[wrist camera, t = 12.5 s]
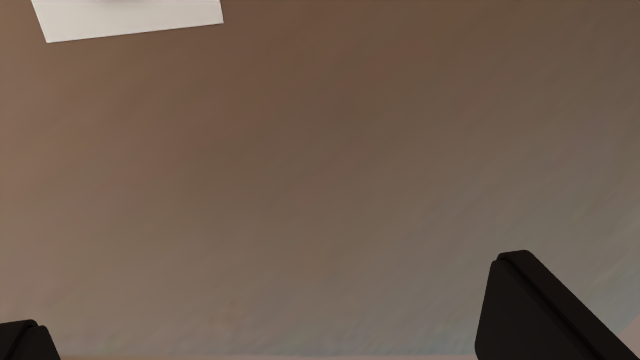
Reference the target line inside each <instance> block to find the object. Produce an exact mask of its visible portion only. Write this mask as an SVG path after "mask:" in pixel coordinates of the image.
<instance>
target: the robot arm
mask: <svg viewBox="0 0 640 360" xmlns="http://www.w3.org/2000/svg"><path fill="white" fill-rule="evenodd" d="M475 352H476V355H477V358H478V360H640V359H639V358H638V357H637V356H636V355H635V354H634V353H633V352H632V351H631V350H630V349H629V348H628V347H627V346H626V345H625V344H624V343H623V342H622V341H620V339H618V337H616V336H615V335H614V334H613V333H612V332H611V331H610V330H609V329H608V328H607V327H606V326H605V325H604V324H603V323H602V322H601V321H600V320H599V319H598V318H597V317H596V316H595V315H594V314H593V313H592V312H591V311H590V310H589V309H588V308H587V307H586V306H585V305H584V304H583V303H582V302H581V301H580V300H579V299H578V298H577V297H576V296H575V295H574V294H573V293H572V292H571V291H570V290H569V289H568V288H567V287H566V286H564V285H563V284H562V283H561V282H560V281H559V280H558V279H557V278H556V277H555V276H554V275H553V274H552V273H551V272H550V271H549V270H548V269H547V268H546V267H545V266H544V265H543V264H542V263H541V262H540V261H539V260H538V259H537V258H536V257H535V256H534V255H533V254H532V253H531V252H529V251H527V250H519V251H512V252H505V253H500V254H499V255H498V257H497V259H496V260H495V261H493V262H492V264H491V267H490V272H489V276H488V281H487V286H486V291H485V296H484V301H483V306H482V311H481V315H480V320H479V325H478V330H477V335H476V340H475ZM0 360H61V359H60V357H59V354H58V352H57V350H56V348H55V345H54V343H53V341H52V338H51V336H50V334H49V331H48V329H47V328H46V327H45V326H44V325H42V326H38V324H37V323H36V321H34V320H33V319H29V320H22V321H15V322H8V323H1V324H0Z"/></svg>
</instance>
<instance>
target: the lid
mask: <svg viewBox="0 0 640 360" xmlns="http://www.w3.org/2000/svg"><path fill="white" fill-rule="evenodd" d="M31 1H32V4H33V6H34V9H35V12H36V15H37V17H38V20H39V23H40V25H41V28H42V31H43V34H44V36H45V39H46V42H47V43H50V42H59V41H68V40H77V39H86V38H95V37H104V36H113V35H122V34H130V33H139V32H148V31H157V30H166V29H175V28H184V27H193V26H202V25H211V24H219V23H224V21H223V15H222V10H221V4H220V0H31Z"/></svg>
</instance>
